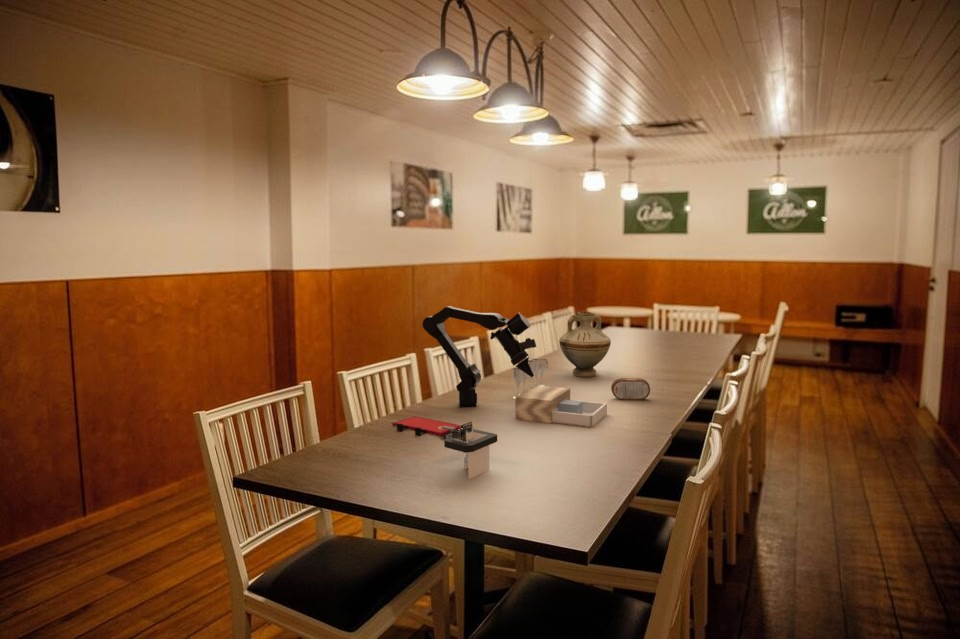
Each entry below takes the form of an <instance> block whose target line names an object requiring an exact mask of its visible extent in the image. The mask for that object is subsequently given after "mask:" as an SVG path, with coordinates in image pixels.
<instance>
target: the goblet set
mask: <svg viewBox="0 0 960 639" xmlns="http://www.w3.org/2000/svg"><path fill="white" fill-rule="evenodd" d="M528 363H529V365H530V368H531V370H532V372H533V374H534V378H535V380H534V382H535V384H534V385H535V386H537V378H538V377H537V376H538V373H539V375H540V384H538V386H546V385H545V384H543V374H544V372H546V371H547V369H548V367H549V362H548V359H547V358H543V357H542V358H532V359H531V360H530V359H529V361H528ZM511 371H512V372H511V377H512V379H513V382H514V383H515V384H516V390H517V394H518V395H520V394H522V393H524V392H525V391H526V390H525V389H526V388H525V385H526V380H527V379H529V389H531V388H532V387H531V382H532V377H530V376H529V375H528V374H526V373H525V372H523V371H522V370H520V369H519V368H517V367H514V368H512V370H511ZM521 382H522V383H523V392H522V393H519V387H520V385H521V384H520V383H521ZM516 396H517V395H516ZM516 396H513V397H512V399H513V398H514V400H515V397H516Z"/></svg>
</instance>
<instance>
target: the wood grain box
mask: <svg viewBox="0 0 960 639" xmlns="http://www.w3.org/2000/svg"><path fill="white" fill-rule="evenodd" d="M538 385H539V384H538ZM538 385H537V384H536V385H535V386H533V387H531V389H530V388H529V389H527V390H525V392H524V391H523V392H522V394H521V393H519V394H520V395H519V394H517V395H516V397H515V396H514V397H515V399H514V400H515V402H514V403H515V404H514V405H515V420H520V419H522V420H521V421H528V420H529V421H530V422H536V421H537V422H538V423H544V422H545V424H553V423H552V411H553V410H555V409H556V408H558V403H559V402H561V401H563V400H564V399H565V400H571V388H568V387H557V386H547V385H545V386H538Z"/></svg>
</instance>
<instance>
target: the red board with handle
mask: <svg viewBox="0 0 960 639" xmlns="http://www.w3.org/2000/svg"><path fill="white" fill-rule="evenodd" d="M460 425H461V424H456V423H452V422H451V423H450V422H445V421H441V420H435V419H431V418H427V417H426V418H425V417H420V416H411V417H408V418H404V419H401V420H398V421H394V422H392V423H391V426H395V427H396V431H397V432H400V433H401V432H403V431H404V430H412V431H414V436H417V437H421V436H422V434H430V435H434V436H439V438H444V439H446V438H448V437H450V436H452V428H453V429H456V430H458V429H460ZM461 428H463V427H461ZM456 430H454V431H456ZM458 432H459V431H458ZM456 433H457V432H456Z"/></svg>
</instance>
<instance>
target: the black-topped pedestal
mask: <svg viewBox="0 0 960 639" xmlns="http://www.w3.org/2000/svg"><path fill="white" fill-rule="evenodd" d="M459 425H460V430H456V429H453V428H452V436H450V437H448V438H444V439H443V440H444V448H445V449H450V450H454V451H458V452H461V453H463V454H466V455H465V457H464V460H463V461H464V462H463V466H464V468H463V469H464V470H468V471H467V472H468V480H471V479H472V478H475V477H477V476H480V475H482V474H483V473H485V472H487V471H489V470H490V445H493V444H495V443H497V442H498V434H496V433H494V432H488V431H484V430H480V429H475V428H474V420H471V421H470V422H466V423H463V424H459ZM461 427H463V429H461ZM454 430H456V431H454ZM458 431H459V432H458ZM456 432H457V433H456Z"/></svg>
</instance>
